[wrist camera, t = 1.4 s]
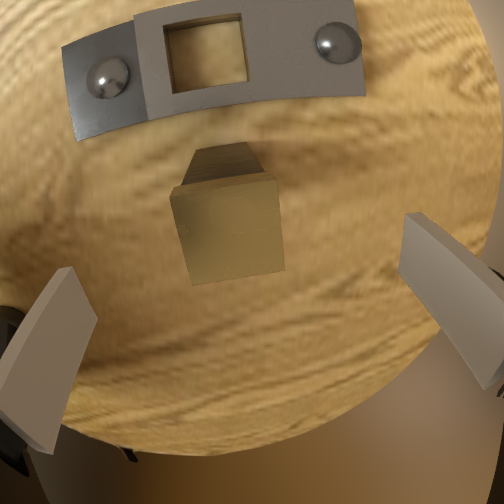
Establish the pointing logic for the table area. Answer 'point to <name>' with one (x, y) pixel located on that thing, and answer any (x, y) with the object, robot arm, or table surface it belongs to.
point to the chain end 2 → (258, 52)
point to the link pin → (228, 216)
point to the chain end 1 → (110, 78)
